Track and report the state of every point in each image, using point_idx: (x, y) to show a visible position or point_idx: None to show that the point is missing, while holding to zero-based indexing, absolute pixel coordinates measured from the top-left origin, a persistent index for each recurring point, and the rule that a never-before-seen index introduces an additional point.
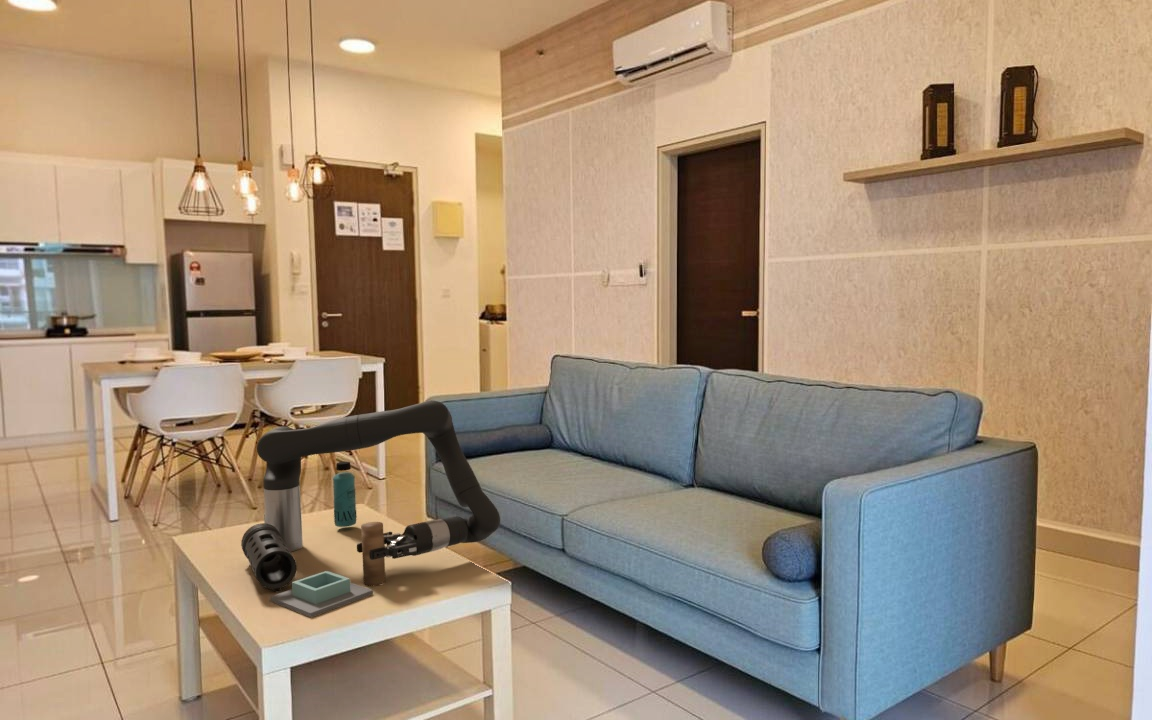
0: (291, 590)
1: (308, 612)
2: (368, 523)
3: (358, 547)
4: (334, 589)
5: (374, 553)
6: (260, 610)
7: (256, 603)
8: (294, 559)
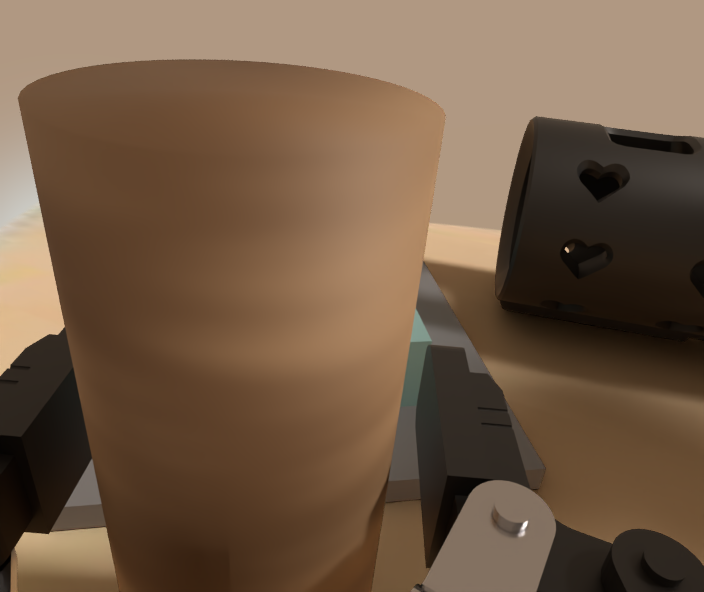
0: (435, 302)
1: None
2: (378, 104)
3: (424, 371)
4: None
5: (46, 345)
6: None
7: (427, 253)
8: (524, 205)
